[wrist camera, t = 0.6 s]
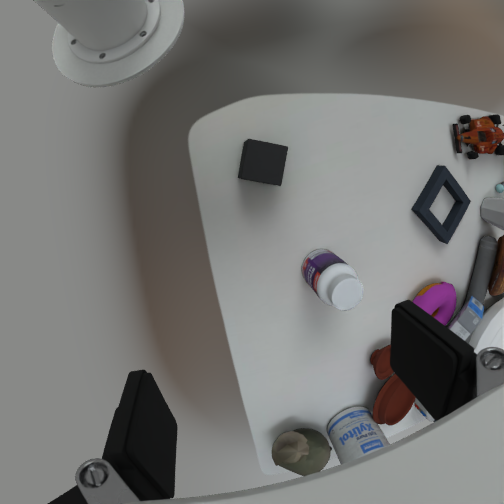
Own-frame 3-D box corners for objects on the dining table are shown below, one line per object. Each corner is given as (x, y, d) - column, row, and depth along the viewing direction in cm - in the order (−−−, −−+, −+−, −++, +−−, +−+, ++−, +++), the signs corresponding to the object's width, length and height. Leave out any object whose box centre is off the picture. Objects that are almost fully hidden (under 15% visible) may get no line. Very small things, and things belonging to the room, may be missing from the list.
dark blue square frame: (411, 209, 41) (419, 211, 39) (437, 165, 40) (445, 165, 38) (439, 241, 44) (447, 244, 42) (463, 199, 42) (470, 201, 40)
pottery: (371, 429, 49) (386, 438, 45) (348, 366, 44) (367, 375, 40) (407, 391, 54) (422, 398, 50) (392, 323, 48) (411, 328, 45)
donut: (396, 332, 47) (410, 345, 43) (412, 277, 44) (428, 287, 40) (436, 327, 49) (450, 338, 44) (451, 277, 46) (467, 286, 42)
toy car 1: (437, 385, 47) (419, 401, 47) (445, 416, 52) (430, 429, 52) (424, 372, 52) (406, 387, 52) (434, 404, 57) (419, 417, 57)
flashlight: (502, 239, 43) (500, 240, 40) (462, 367, 49) (455, 376, 46) (481, 233, 46) (477, 233, 44) (444, 358, 53) (437, 366, 50)
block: (237, 177, 37) (240, 178, 33) (244, 141, 36) (248, 138, 32) (273, 184, 37) (281, 186, 34) (280, 148, 36) (288, 146, 33)
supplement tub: (357, 397, 50) (390, 451, 36) (375, 415, 53) (406, 463, 39) (316, 426, 51) (341, 483, 37) (338, 441, 54) (362, 491, 39)
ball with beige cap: (260, 428, 49) (312, 417, 45) (289, 437, 55) (334, 427, 52) (262, 478, 41) (318, 471, 37) (292, 479, 48) (340, 471, 44)
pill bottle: (295, 257, 41) (320, 284, 31) (331, 242, 41) (363, 264, 31) (307, 291, 42) (332, 324, 33) (340, 276, 42) (373, 304, 33)
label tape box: (468, 305, 38) (422, 355, 44) (484, 321, 36) (436, 370, 42) (472, 294, 44) (432, 339, 50) (485, 308, 42) (445, 352, 48)
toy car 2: (447, 115, 38) (465, 113, 33) (496, 115, 39) (511, 114, 35) (456, 161, 40) (474, 162, 35) (502, 153, 41) (518, 154, 37)
